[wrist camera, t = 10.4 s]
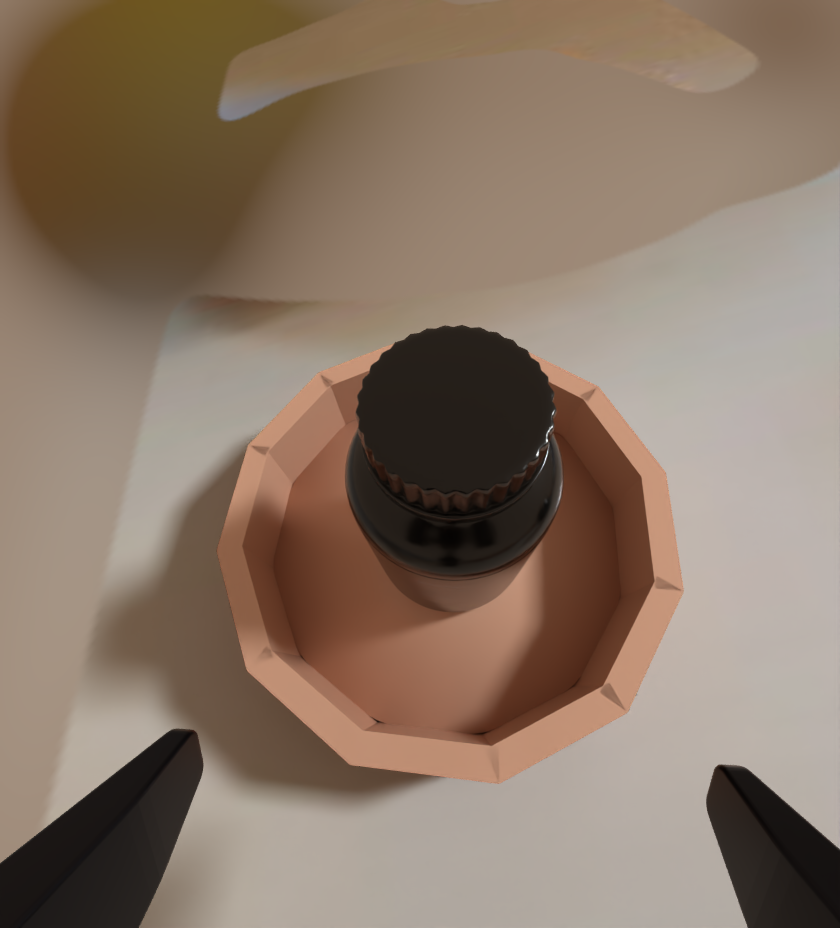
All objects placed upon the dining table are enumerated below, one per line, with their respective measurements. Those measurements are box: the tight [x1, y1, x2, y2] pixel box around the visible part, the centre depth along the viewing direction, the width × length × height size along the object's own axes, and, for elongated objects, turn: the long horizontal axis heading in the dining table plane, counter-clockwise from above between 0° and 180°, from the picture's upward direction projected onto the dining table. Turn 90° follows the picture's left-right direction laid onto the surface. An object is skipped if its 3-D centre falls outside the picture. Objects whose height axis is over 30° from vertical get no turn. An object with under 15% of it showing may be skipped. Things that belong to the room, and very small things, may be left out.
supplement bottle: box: [345, 325, 564, 612], centre depth 16 cm, size 7×7×12 cm
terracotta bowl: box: [217, 344, 684, 784], centre depth 20 cm, size 18×18×4 cm
